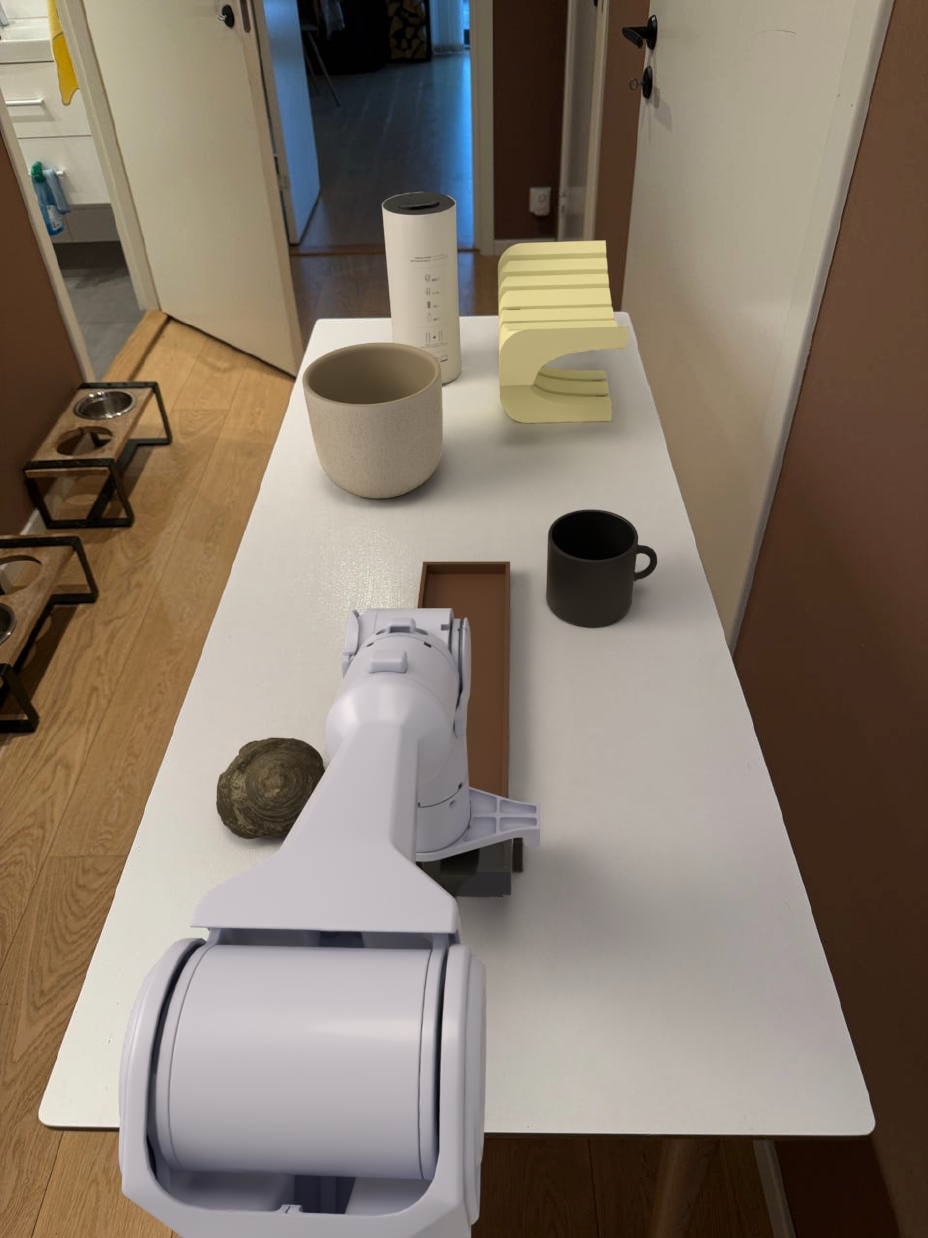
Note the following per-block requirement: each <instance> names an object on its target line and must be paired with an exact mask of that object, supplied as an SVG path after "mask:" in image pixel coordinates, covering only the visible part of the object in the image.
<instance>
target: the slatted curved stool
mask: <svg viewBox="0 0 928 1238" xmlns="http://www.w3.org/2000/svg"><path fill="white" fill-rule="evenodd" d="M608 268H609V267H608V258H607V241H606V240H605V239H604V240H578V241H577V240H576V241H574V240H573V241H544V242H520V243H516V244H513V245H511V246H509V247H508V248H507V249H506V250H505V251H504V252H503V253H502V254H501V256H500V258H499V260H498V264H497V286H498V287H497V296H498V297H497V300H498V301H497V302H498V360H499V361H498V364H499V365H498V368H499V399H500V403H501V406H502V408H503V409H504V411H505V412H506V414H507V415H508V416H509V417H510V418H511V419H513V420H514V421H517V422H519V423H523V424H540V423H541V424H542V423H544V424H545V423H547V424H548V423H582V422H583V423H586V422H587V423H589V422H613V404H612V403H613V402H612V399H611V396H610V395H611V394H610V388H609V384H608V383H609V382H608V381H607V373H606V370H605V369H565V368H564V369H563V368H554V367H549V366H545V365H546V364H547V363H549V362H551V361H552V360H555V359H557V358H559V357H563V356H566V355H570V354H576V353H582V352H591V351H601V350H613V349H627V348H628V337H629V326H620V325H619V324H618V322H617V320H616V317H615V313H614V308H613V306H612V304H613V302H612V297H611V291H610V279H609V273H608V270H609V269H608Z"/></svg>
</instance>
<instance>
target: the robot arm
mask: <svg viewBox="0 0 928 1238" xmlns="http://www.w3.org/2000/svg"><path fill="white" fill-rule="evenodd" d="M343 643H344V644H343V651H342V656H341V657H342V658H341V671H342V673H341V674H342V682H341V683H340V686H339V688H338V691H337V692H336V695H335V697H334V699H333V702H332V704H331V706H330V708H329V710H328V712H327V715H326V717H325V720H324V725H323V743H324V749H325V751H326V755H327V758H328V760H329V764H328V766H327V768H326V769H325V773H324V775H323V776H322V778H321V780H320V781H319V783H318V785H317V786H316V788H315V790H314V792H313V793H312V795H311V797H310V798H309V800H308V802H307V803H306V805H305V807H304V808H303V810H302V812H301V813H300V815H299V817H298V819H297V820H296V822H295V824H294V825H293V827H292V829H291V830H290V832H289V833H287V836H286V837H285V839H284V840H283V842H282V844H281V846H280V847H279V848H278V850H276V851H275V852H273V853H271V854H270V855H267V856H266V857H264V858H263V859H261V860H260V861H258V862H256V863H255V864H253V865H251V866H249V867H248V868H246V869H245V870H243V871H241V872H239V873H238V874H236V875H234V876H232V877H231V878H229V879H228V880H226V881H224V882H221V884H219V885H217V886H216V887H214V888H212V889H211V890H209V891H207V892H205V894H203V896H202V897H201V898H200V899H199V901H198V904H197V906H196V908H195V911H194V914H193V915H192V918H191V921H190V924H189V928H201V929H202V928H203V929H204V928H205V929H207V931H209V932H208V937H207V940H205V939H204V938H203V937H184V938H180V939H178V940H177V941H175V942H174V943H172V944H171V945H170V947H169V948H168V949H166V951H164V953H163V955H162V956H161V957H160V959H159V960H158V961H157V962H156V963H155V964H154V965H153V966H152V967H151V968H150V970H149V971H148V973H147V974H146V975H145V978H144V980H143V982H142V983H141V986H140V988H139V990H138V992H137V994H136V997H135V1000H134V1002H133V1005H132V1009H131V1012H130V1015H129V1018H128V1021H127V1026H126V1030H125V1035H124V1038H123V1044H122V1051H121V1056H120V1064H119V1065H120V1066H119V1075H118V1114H119V1130H118V1131H119V1132H118V1164H119V1169H120V1170H119V1171H120V1174H121V1176H122V1177H121V1192H122V1194H123V1195H124V1196H125V1197H126V1198H127V1199H128V1200H130V1201H131V1202H132V1203H134V1204H136V1205H137V1206H138V1207H139V1208H141V1209H143V1210H144V1211H145V1212H146V1213H148V1214H149V1215H151V1216H152V1217H153V1218H155V1219H156V1220H157V1221H159V1222H161V1223H162V1224H163V1225H165V1226H166V1227H167V1228H169V1229H170V1230H172V1231H173V1232H174V1233H175V1234H177V1235H178V1236H180V1237H181V1238H472V1225H474V1224H475V1223H476V1222H477V1221H478V1220H479V1217H480V1208H481V1207H480V1206H481V1204H480V1203H481V1169H482V1168H481V1163H482V1161H483V1156H484V1155H483V1154H484V1142H485V1122H486V1121H485V1120H486V1119H485V1118H486V1087H487V1085H486V1084H487V1083H486V1082H487V975H486V972H487V971H486V966H485V964H484V963H483V962H482V961H481V959H479V957H478V956H477V955H475V954H473V950H472V949H473V948H472V946H470V944H467V943H463V942H462V939H463V938H462V926H461V925H462V924H461V916H460V910H459V906H458V902H457V900H456V898H457V897H456V896H457V893H458V891H459V889H460V888H461V886H462V885H463V884H464V883H465V881H466V880H468V879H469V878H471V877H473V876H475V874H476V872H477V869H478V866H479V859H480V847H484V846H487V845H491V844H494V843H498V842H501V841H505V840H508V839H512V840H513V838H522V842H523V846H525V847H540V846H541V803H537V802H525V801H524V802H523V801H518V800H514V799H511V798H508V799H507V798H504V797H501V796H498V795H494V794H491V793H488V792H485V791H481V790H478V789H475V788H472V787H469V778H468V760H467V741H466V723H467V705H468V700H469V696H470V686H471V634H470V626H469V622H468V619H467V618H464V622H463V625H462V620H461V619H454V614H453V610H452V608H417V607H415V608H414V607H413V608H409V607H406V608H404V607H403V608H401V607H400V608H399V607H397V608H395V607H394V608H392V607H391V608H390V607H389V608H387V607H386V608H384V607H383V608H381V607H380V608H379V607H377V608H373V607H372V608H366V609H364V612H363V614H361V615H360V613H359V611H357V609H352V611H350V612H349V615H348V619H347V623H346V631H345V637H344V642H343ZM439 859H441V861H440V875H441V877H442V880H443V885H444V889H443V888H442V887H441V886H440V885H439V884H438V883H436V882H435V881H434V880H433V879H432V878H431V877H429V876H428V875H427V874H426V873H425V872H424V871H423V867H422V862H421V861H434V860H439Z"/></svg>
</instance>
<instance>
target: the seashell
mask: <svg viewBox="0 0 928 1238" xmlns="http://www.w3.org/2000/svg"><path fill="white" fill-rule="evenodd" d="M225 716H227V715H225ZM325 771H326V769H325V766H324V759H323V757H322V755H321V753H320V752H319V751H318V750H317V749H316V748H314V747H313V746H312V745H311V744H310V743H308V742H306V741H304V740H301V739H297V738H294V737H267V738H264V739H261V740H252V741H248V742H246V743H245V744H244V745H242V746H241V747H240V748H239V749H238V754H237V755H236V756H235V758H234V759H233V760H232V761H231V763H229V765H228V767H227V768H226V769H225V770H224V771H223V772H222V773H220V774H219V776H218V779H217V784H216V801H215V805H216V810H217V811H216V812H217V814H218V815H219V817H220V820H221V822H222V823H223V825H224V826H225V827H227V828H228V830H230V832H231V833H232V834H234V835H235V836H237V838H241V839H243V840H256V839H261V838H273V837H274V838H275V837H278V836H279V837H280V836H282V835H285V834H289V832H290V830H291V829H292V827H293V825H294V824H295V822H296V820H297V819H298V817H299V815H300V813H301V812H302V810H303V808H304V807H305V805H306V803H307V802H308V800H309V798H310V797H311V795H312V793H313V792H314V790H315V788H316V786H317V785H318V783H319V781H320V780H321V778H322V776H323V775H324V773H325Z"/></svg>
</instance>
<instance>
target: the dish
mask: <svg viewBox="0 0 928 1238" xmlns="http://www.w3.org/2000/svg"><path fill="white" fill-rule="evenodd" d="M440 861H441V859H439V860H434V861H421V862H422V867H423V871H424V872H425V873H426V874H427V875H428V876H429V877H431V878H432V879H433V880H434V881H435V882H436V883H438V884H439V885H440V886H441V887H442V888H443V889H444V885H443V880H442V877H441V875H440ZM512 868H513V838H512V839H508V840H505V841H501V842H498V843H494V844H491V845H487V846H484V847H480V859H479V866H478V869H477V872H476V874H475V876H473V877H471V878H469V879H468V880H466V881H465V883H464V884H463V885H462V886H461V888H460V889H459V891H458V893H457V896H456V898H457V897H458V898H465V897H466V898H503V897H504V896H511V895H512Z"/></svg>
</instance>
